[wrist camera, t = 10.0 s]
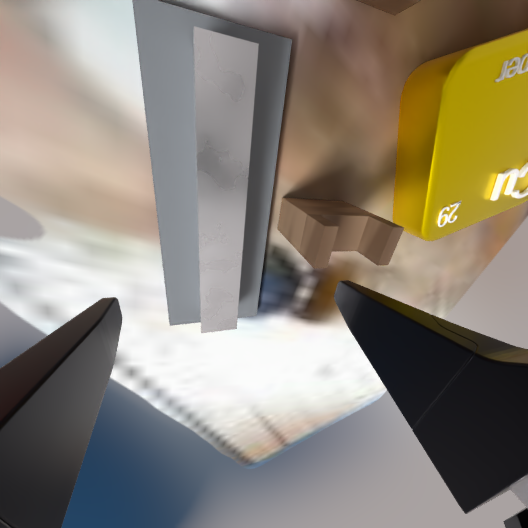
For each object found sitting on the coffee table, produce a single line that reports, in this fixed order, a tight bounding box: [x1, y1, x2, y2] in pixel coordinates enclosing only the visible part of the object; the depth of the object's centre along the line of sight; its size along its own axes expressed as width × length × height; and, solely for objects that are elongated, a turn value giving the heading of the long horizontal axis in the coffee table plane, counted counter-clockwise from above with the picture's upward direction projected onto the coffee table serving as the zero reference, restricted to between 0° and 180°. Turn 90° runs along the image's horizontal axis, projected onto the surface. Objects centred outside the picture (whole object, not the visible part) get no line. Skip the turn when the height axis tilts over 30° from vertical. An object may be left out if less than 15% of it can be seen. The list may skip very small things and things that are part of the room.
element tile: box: [393, 28, 528, 241], centre depth 21 cm, size 15×15×5 cm
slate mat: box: [133, 0, 292, 325], centre depth 19 cm, size 9×23×1 cm, turn 173°
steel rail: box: [193, 26, 259, 333], centre depth 17 cm, size 3×20×3 cm, turn 173°
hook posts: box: [278, 0, 421, 268], centre depth 15 cm, size 6×19×8 cm, turn 173°
